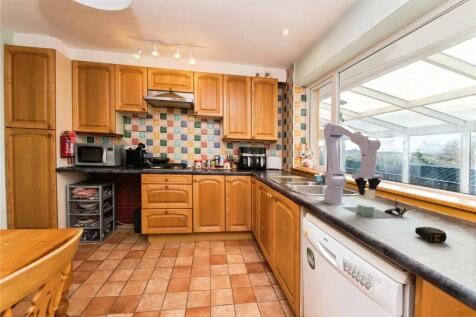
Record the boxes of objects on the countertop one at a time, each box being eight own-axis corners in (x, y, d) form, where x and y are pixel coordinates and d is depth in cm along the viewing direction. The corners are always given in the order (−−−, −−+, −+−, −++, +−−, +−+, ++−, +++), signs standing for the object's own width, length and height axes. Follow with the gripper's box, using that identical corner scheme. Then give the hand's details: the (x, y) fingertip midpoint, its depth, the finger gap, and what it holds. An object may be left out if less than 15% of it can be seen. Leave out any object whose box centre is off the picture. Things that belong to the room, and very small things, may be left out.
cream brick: (358, 196, 99) (359, 188, 98) (367, 196, 99) (367, 188, 99) (366, 199, 94) (366, 190, 94) (374, 199, 95) (375, 190, 95)
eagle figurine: (415, 215, 96) (398, 205, 105) (409, 201, 94) (392, 193, 103) (398, 224, 96) (383, 213, 106) (392, 211, 95) (377, 201, 104)
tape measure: (413, 235, 75) (414, 225, 75) (435, 237, 74) (436, 226, 74) (427, 243, 69) (427, 232, 68) (451, 246, 67) (452, 234, 67)
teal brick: (357, 213, 99) (357, 204, 99) (365, 212, 100) (366, 204, 99) (364, 216, 94) (364, 207, 94) (373, 215, 95) (373, 207, 95)
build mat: (341, 208, 108) (341, 207, 108) (369, 207, 111) (369, 206, 111) (369, 219, 91) (369, 218, 91) (401, 218, 93) (401, 218, 93)
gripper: (360, 165, 91) (358, 196, 92) (389, 165, 94) (387, 196, 94) (349, 164, 98) (347, 193, 99) (376, 164, 101) (374, 193, 101)
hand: (366, 194), depth 97 cm, fingers closed on cream brick, 4 cm apart
